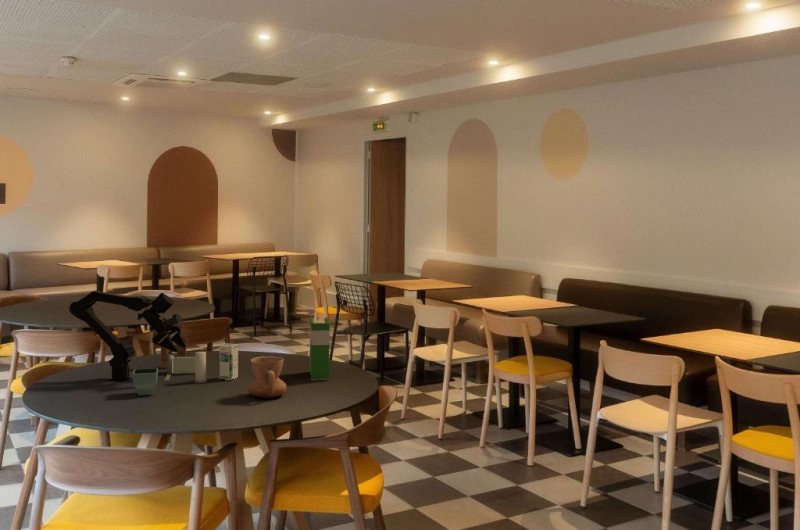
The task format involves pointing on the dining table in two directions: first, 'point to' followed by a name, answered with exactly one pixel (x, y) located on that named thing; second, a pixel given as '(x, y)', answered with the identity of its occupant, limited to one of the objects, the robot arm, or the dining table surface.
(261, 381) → the ceramic jug
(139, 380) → the flower pot
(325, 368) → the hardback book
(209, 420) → the dining table surface
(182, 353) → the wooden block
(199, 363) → the beige dome-topped cylinder
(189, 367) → the beige flat block
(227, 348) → the syrup box
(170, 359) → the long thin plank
